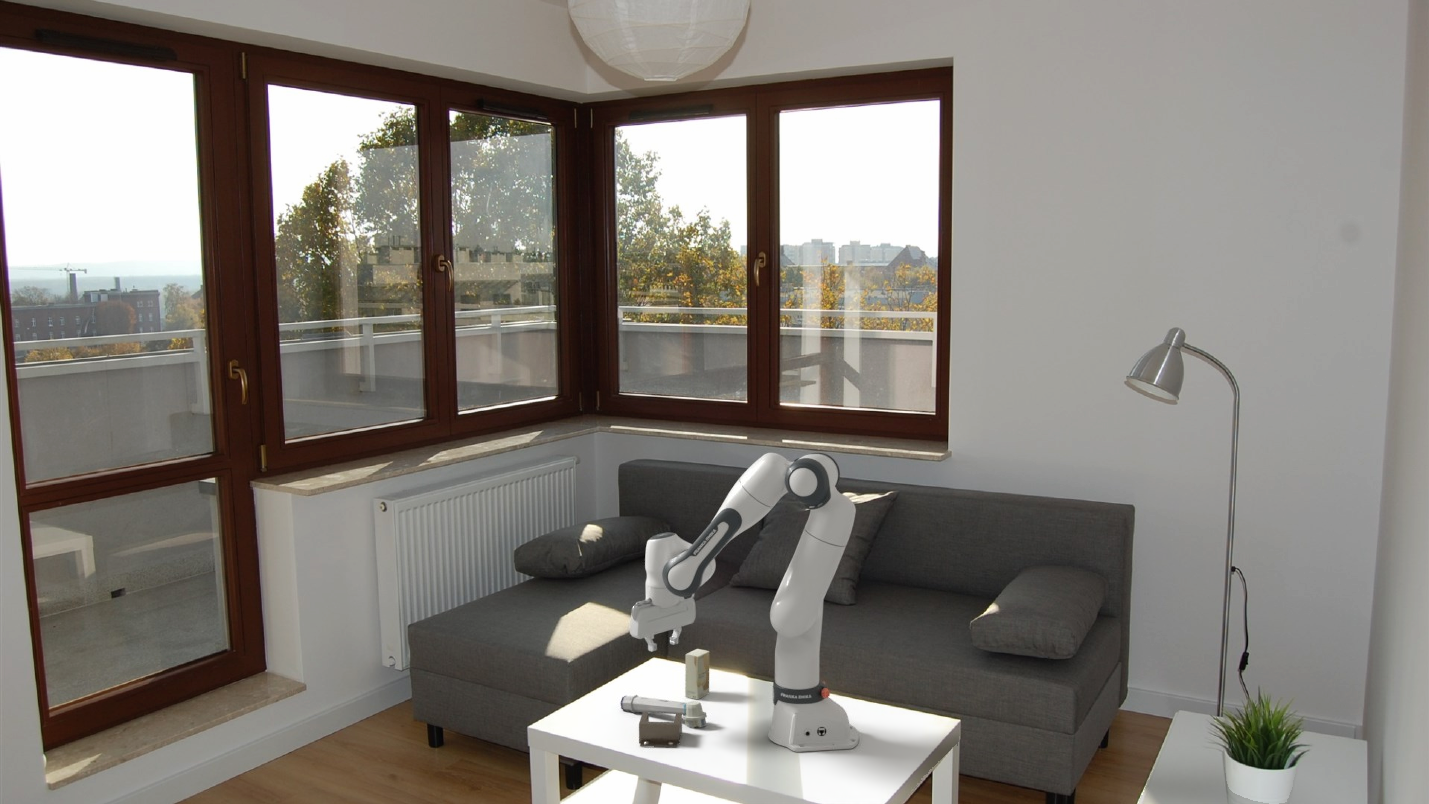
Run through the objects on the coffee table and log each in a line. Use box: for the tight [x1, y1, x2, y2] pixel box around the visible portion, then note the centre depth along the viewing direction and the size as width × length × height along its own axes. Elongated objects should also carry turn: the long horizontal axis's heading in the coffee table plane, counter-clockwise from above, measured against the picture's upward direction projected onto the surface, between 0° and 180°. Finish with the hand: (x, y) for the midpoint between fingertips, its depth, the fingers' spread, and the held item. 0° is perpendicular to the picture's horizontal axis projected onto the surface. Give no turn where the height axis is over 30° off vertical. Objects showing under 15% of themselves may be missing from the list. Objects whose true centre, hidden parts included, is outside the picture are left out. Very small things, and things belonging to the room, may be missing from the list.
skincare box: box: [684, 648, 710, 700], centre depth 297 cm, size 6×4×12 cm
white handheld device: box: [620, 694, 708, 729], centre depth 282 cm, size 5×7×25 cm
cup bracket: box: [638, 712, 683, 749], centre depth 268 cm, size 10×10×5 cm
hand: (663, 647), depth 279 cm, fingers open, 6 cm apart
